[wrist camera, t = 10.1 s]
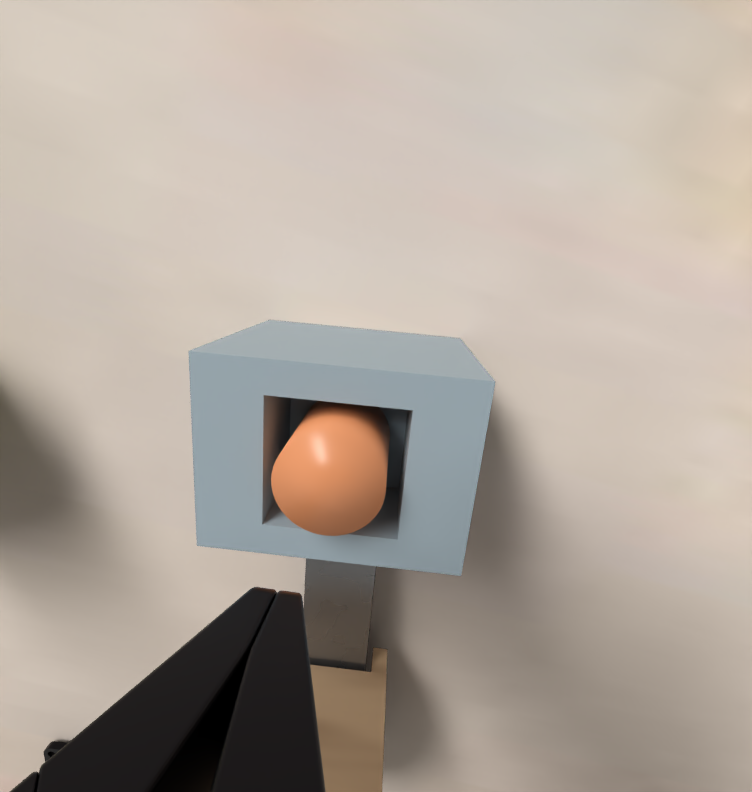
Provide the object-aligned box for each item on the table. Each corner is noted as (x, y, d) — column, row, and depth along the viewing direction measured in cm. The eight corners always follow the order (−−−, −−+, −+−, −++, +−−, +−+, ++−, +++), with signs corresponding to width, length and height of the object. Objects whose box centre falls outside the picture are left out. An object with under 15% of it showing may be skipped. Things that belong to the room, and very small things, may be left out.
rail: (375, 733, 24) (368, 847, 20) (289, 722, 24) (261, 833, 20) (410, 445, 19) (412, 504, 14) (300, 433, 19) (266, 488, 14)
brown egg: (385, 478, 15) (380, 541, 11) (300, 469, 15) (270, 529, 11) (394, 396, 14) (391, 438, 10) (304, 387, 14) (272, 426, 11)
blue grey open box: (440, 469, 19) (461, 575, 13) (267, 450, 20) (196, 545, 13) (460, 338, 18) (495, 381, 11) (269, 319, 18) (188, 350, 11)
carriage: (378, 720, 22) (369, 894, 16) (285, 708, 22) (240, 875, 16) (387, 646, 21) (381, 806, 15) (287, 634, 21) (239, 787, 15)
